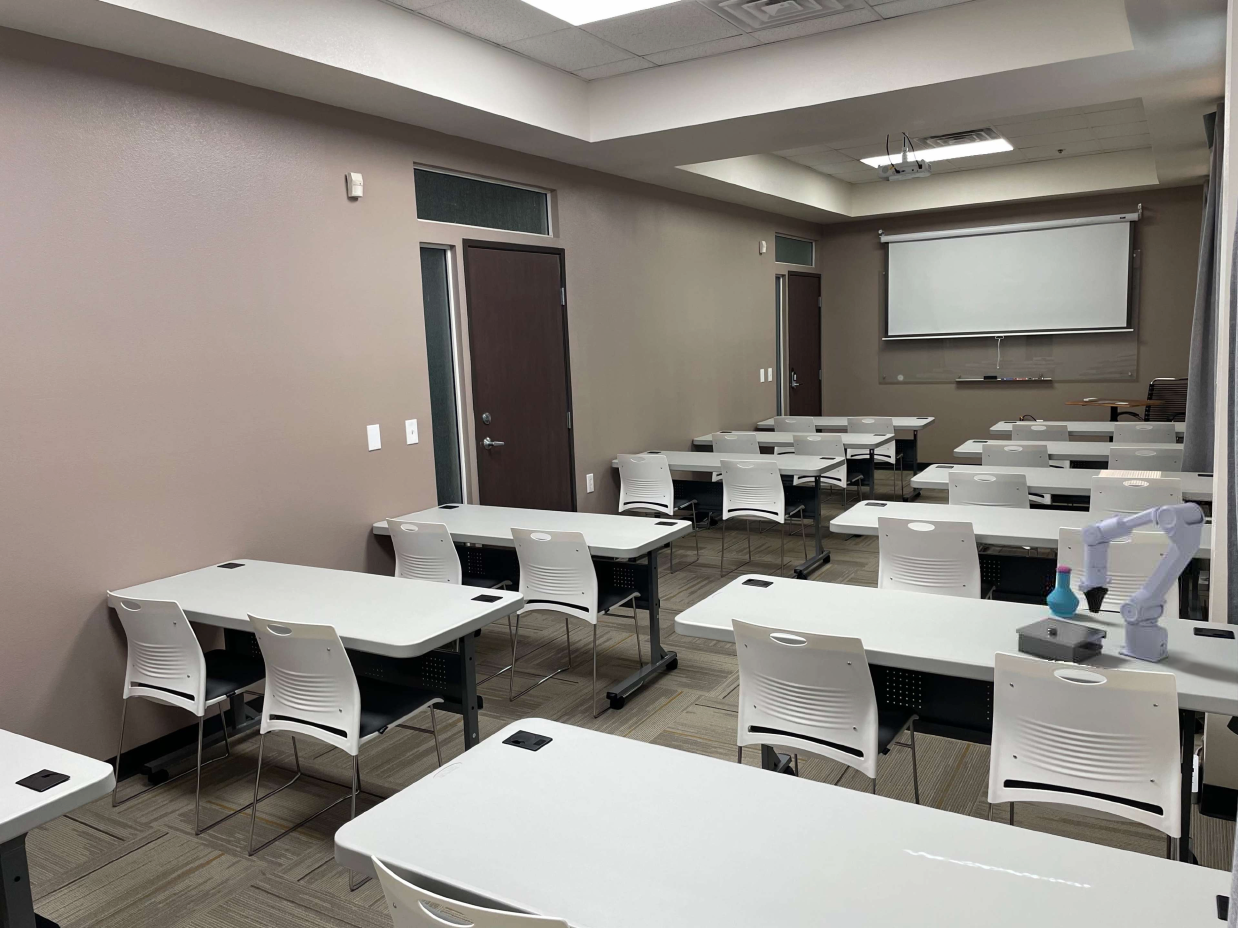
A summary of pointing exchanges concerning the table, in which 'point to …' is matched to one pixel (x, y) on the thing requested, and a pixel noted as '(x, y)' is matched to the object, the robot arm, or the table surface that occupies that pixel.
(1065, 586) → the perfume bottle
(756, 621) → the table surface
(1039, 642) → the dark grey box
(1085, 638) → the cooker lid
